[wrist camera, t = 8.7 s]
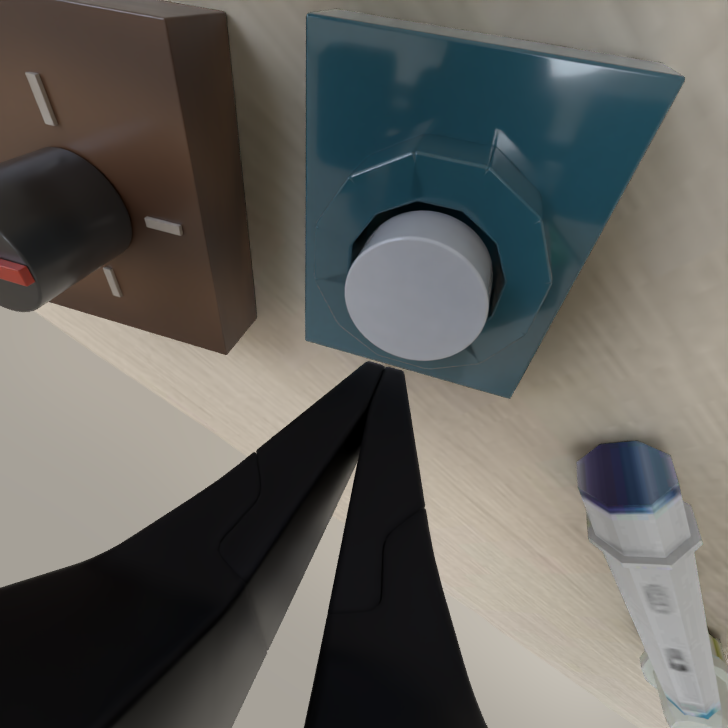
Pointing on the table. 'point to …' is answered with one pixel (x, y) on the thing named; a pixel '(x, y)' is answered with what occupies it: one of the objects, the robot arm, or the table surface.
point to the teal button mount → (467, 167)
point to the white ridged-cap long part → (657, 576)
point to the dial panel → (141, 152)
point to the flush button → (421, 286)
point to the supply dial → (55, 225)
